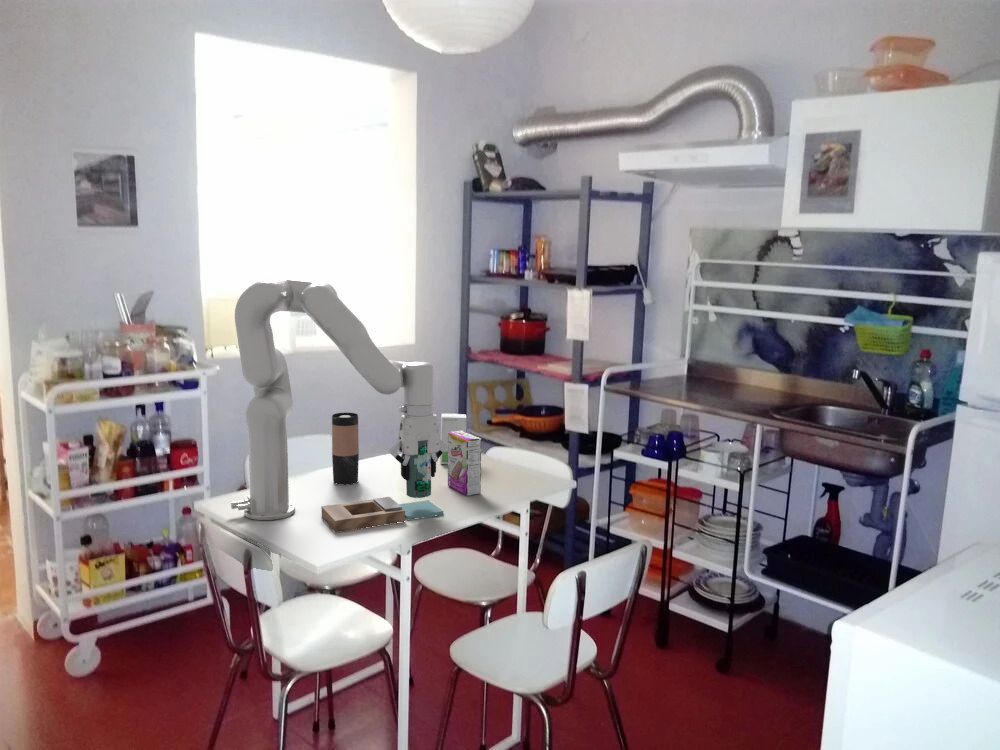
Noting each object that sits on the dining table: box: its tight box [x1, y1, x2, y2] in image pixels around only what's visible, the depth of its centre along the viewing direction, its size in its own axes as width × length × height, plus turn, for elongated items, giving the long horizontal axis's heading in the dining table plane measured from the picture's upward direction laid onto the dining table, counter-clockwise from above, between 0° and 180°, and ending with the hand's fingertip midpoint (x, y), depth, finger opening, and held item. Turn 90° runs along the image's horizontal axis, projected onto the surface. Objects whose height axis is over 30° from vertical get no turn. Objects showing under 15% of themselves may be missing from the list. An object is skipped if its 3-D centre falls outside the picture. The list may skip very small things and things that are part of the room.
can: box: [405, 440, 432, 499], centre depth 204 cm, size 6×6×15 cm
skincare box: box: [439, 413, 468, 465], centre depth 254 cm, size 8×7×16 cm
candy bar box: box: [447, 430, 482, 497], centre depth 224 cm, size 11×5×16 cm, turn 34°
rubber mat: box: [398, 499, 444, 521], centre depth 206 cm, size 10×10×1 cm
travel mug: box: [331, 412, 360, 486], centre depth 230 cm, size 8×8×20 cm
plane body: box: [320, 496, 406, 533], centre depth 199 cm, size 18×12×4 cm, turn 118°
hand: (418, 476), depth 205 cm, fingers closed on can, 6 cm apart
